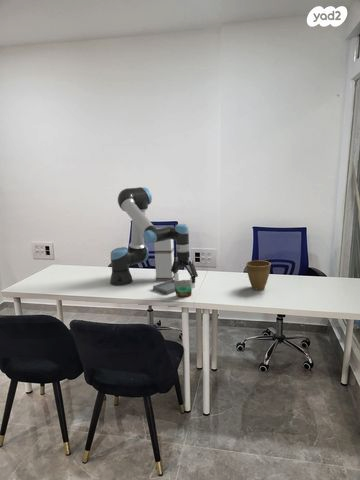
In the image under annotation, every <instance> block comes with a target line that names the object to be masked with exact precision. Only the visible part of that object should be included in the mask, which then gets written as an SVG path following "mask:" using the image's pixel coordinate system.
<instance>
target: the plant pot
mask: <svg viewBox="0 0 360 480" xmlns="http://www.w3.org/2000/svg"><path fill="white" fill-rule="evenodd" d="M271 264H272V263H271V262H269V261H266V260H260V259H259V260H250V261H247V262H246V263H245V267H246V271H247V277H248V279H249V284H250V285H251V288H252V289H253V290H257V291H261V290H264V289H265V287H266V285H267V283H268V278H269V276H270V271H271Z"/></svg>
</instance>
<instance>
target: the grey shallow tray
mask: <svg viewBox="0 0 360 480" xmlns="http://www.w3.org/2000/svg"><path fill="white" fill-rule="evenodd" d="M173 281H174V279H172V280H169V281H163V282H161V283H158V284H155V285H153V286H152V290H154V291H156V292H157V293H161V294H164V295H167V296H168V295H172V294H173V293H176V291H175V285H174V284H173Z"/></svg>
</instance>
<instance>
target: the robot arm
mask: <svg viewBox="0 0 360 480" xmlns="http://www.w3.org/2000/svg"><path fill="white" fill-rule="evenodd" d="M152 196H153V195H152V193H151V191H150V190H149V188H147V187H141V186H140V187H130V188H129V187H127V188H125V189H122V190H121V191H120V192H119V194H118V196H117V203H118V206H119V208H120V209H121V210H122V211H123V212H126V214H127V215H128V217H129V218H131V237H130V238H131V239H130V240H131V241H130V242H129V244H128V247H125V246H121V247H117V248H114V249H112V250H111V251H110V264H111V275H110V280H109V282H110V285H114V286H125V285H129V284H131V283H133V276H132V274H131V272H130V266H133V265H137V264H142V263H144V262H146V261H147V260H148V258H149V256H150V255H149V254H150V253H149V249H148V247H147V246H146V244H154V243H155V242H160V241H165V240H170V239H173V241H175V244H176V245H175V248H176V257H174V262H173V265H172V269H171V272H173V273H174V280H175V281H180V279H179V278H180V277H179V272H178V271H179V270H180V269H181V268H182V267H183V268H184V269H186V270H187V272H188V274H189V275H190V278H189V280H190V282H191V289H192V290H193V289H195V288H196V278H198V277H199V274H198V273H197V270H196V267H195V265H194V260H193V259H192V260H190V235H189V234H190V231H189V226H188V225H187V224H185V223H180V224H179V223H178V224H176V225H175V226H171V225H165V226H164V227H159V228H160V229H156V228H157V227H156V226H154V224H153V223H152V222H151V221H150V220H149V219H148V217H147V216H146V211H147V210H148V209H149V208H148V207H149V205H150V204H151V203H152V202H153V197H152Z"/></svg>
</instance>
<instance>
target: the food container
mask: <svg viewBox="0 0 360 480" xmlns="http://www.w3.org/2000/svg"><path fill="white" fill-rule="evenodd" d="M173 284H174V285H175V291H176V292H175V296H176V297H177V298H183V299H186V298H189V297H191V296H192V293H193V292H192V291H193V289H191V282H190V279H182V280H179V281H175V280H174V281H173Z"/></svg>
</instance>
